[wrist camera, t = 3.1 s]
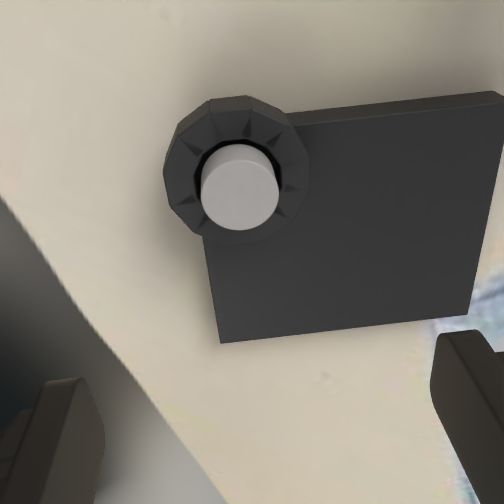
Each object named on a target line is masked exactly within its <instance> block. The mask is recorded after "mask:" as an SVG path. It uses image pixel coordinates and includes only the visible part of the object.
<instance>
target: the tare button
mask: <svg viewBox="0 0 504 504" xmlns="http://www.w3.org/2000/svg"><path fill="white" fill-rule="evenodd" d="M278 199H279V189H278V185H277V181H276V178H275V174H274V170H273V167H272V165H271V162H270V161H269V159H268V158H267V157H266V155H265V154H263V153H262V152H261V151H260V150H258V149H256V148H254V147H252V146H249V145H244V144H233V145H228V146H225V147H222V148H220V149H219V150H217V151H215V152H214V153H213V154H212V155H211V156H210V157H209V158H208V160H207V161H206V163H205V165H204V167H203V170H202V175H201V202H202V206H203V208H204V210H205V212H206V214H207V215H208V216H209V218H210V219H211V220H212V221H214V222H215V223H216V224H218V225H220V226H222V227H224V228H227V229H231V230H247V229H251V228H254V227H256V226H259V225H260V224H262V223H263V222H265V221H266V220H267V219H268V218H269V217H270V216H271V215H272V213H273V212H274V210H275V208H276V206H277V203H278Z"/></svg>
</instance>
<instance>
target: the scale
mask: <svg viewBox="0 0 504 504" xmlns="http://www.w3.org/2000/svg"><path fill="white" fill-rule="evenodd" d="M233 144H244V145H249V146H252V147H254V148H256V149H258V150H260V151H261V152H262V153H263V154H265V155H266V157H267V158H268V159H269V161H270V162H271V165H272V167H273V170H274V174H275V178H276V181H277V185H278V189H279V199H278V203H277V206H276V208H275V210H274V212H273V213H272V215H271V216H270V217H269V218H268V219H267V220H266V221H265V222H263V223H262V224H260V225H259V226H256V227H254V228H251V229H247V230H231V229H227V228H224V227H222V226H220V225H218V224H216V223H215V222H214V221H212V220H211V219H210V218H209V216H208V215H207V214H206V212H205V210H204V208H203V206H202V202H201V175H202V170H203V167H204V165H205V163H206V161H207V160H208V158H209V157H210V156H211V155H212V154H213V153H214V152H215V151H217V150H219V149H220V148H222V147H225V146H228V145H233ZM503 144H504V96H502V95H500V94H498V93H497V92H495V91H485V92H476V93H467V94H458V95H449V96H440V97H431V98H422V99H413V100H404V101H395V102H386V103H377V104H368V105H359V106H350V107H341V108H331V109H322V110H313V111H304V112H295V113H286V114H285V113H284V112H282V111H281V110H280V109H277V108H275V107H273V106H271V105H269V104H266V103H264V102H262V101H260V100H258V99H255V98H253V97H251V96H247V95H244V96H235V97H226V98H217V99H210V101H206V102H205V103H204V104H202V105H201V106H200V107H198V108H197V109H196V110H195V111H193V112H192V113H191V114H189V115H188V116H187V117H185V118H184V119H183V120H181V121H180V123H178V125H177V128H176V130H175V133H174V135H173V138H172V141H171V143H170V146H169V148H168V151H167V153H166V157H165V162H164V167H163V177H164V182H165V187H166V191H167V196H168V201H169V205H170V207H171V209H172V210H173V211H174V212H175V213H176V214H177V215H178V216H179V217H180V218H181V219H182V221H183V222H184V223H185V224H186V225H187V226H188V227H189V228H190V229H191V230H192V231H193V232H194V233H195V234H198V235H201V236H202V238H203V244H204V250H205V256H206V262H207V268H208V274H209V280H210V285H211V291H212V297H213V303H214V309H215V315H216V321H217V327H218V333H219V338H220V343H221V344H222V343H231V342H239V341H248V340H256V339H265V338H273V337H282V336H290V335H299V334H307V333H316V332H324V331H333V330H341V329H350V328H358V327H367V326H375V325H384V324H392V323H401V322H409V321H418V320H426V319H435V318H443V317H452V316H460V315H467V314H468V310H469V305H470V300H471V295H472V291H473V286H474V281H475V276H476V272H477V267H478V262H479V257H480V253H481V248H482V243H483V239H484V234H485V229H486V224H487V220H488V215H489V210H490V205H491V201H492V196H493V191H494V187H495V182H496V177H497V172H498V168H499V163H500V158H501V153H502V149H503Z"/></svg>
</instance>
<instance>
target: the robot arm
mask: <svg viewBox="0 0 504 504" xmlns="http://www.w3.org/2000/svg"><path fill="white" fill-rule="evenodd" d="M430 392H431V398H432V402H433V405H434V408H435V410H436V412H437V414H438V417H439V419H440V421H441V423H442V425H443V427H444V429H445V431H446V433H447V435H448V437H449V439H450V441H451V443H452V446H453V448H454V450H455V452H456V454H457V456H458V458H459V460H460V462H461V464H462V466H463V468H464V470H465V472H466V475H467V477H468V479H469V481H470V483H471V485H472V487H473V489H474V491H475V493H476V495H477V497H478V499H479V501H480V504H504V352H494V350H493V349H492V347H491V346H490V345H489V343H488V342H487V340H486V339H485V337H484V336H483V335H482V333H481V332H479V331H478V330H475V329H474V330H466V331H457V332H449V333H441V334H439V336H438V338H437V342H436V348H435V354H434V360H433V366H432V372H431V378H430ZM104 448H105V430H104V424H103V421H102V419H101V416H100V414H99V411H98V409H97V406H96V404H95V402H94V399H93V397H92V394H91V392H90V389H89V387H88V384H87V382H86V380H85V379H84V378H82V377H81V378H71V379H63V380H55V381H47V382H45V383H44V384H43V385H42V387H41V389H40V391H39V394H38V397H37V399H36V402H35V404H34V407H33V409H29V410H21V411H19V412H18V414H17V415H16V416H15V417H14V418H13V419H12V421H11V422H10V423H9V424H8V425H7V427H6V428H5V429H4V430H3V431H2V433H1V434H0V504H93V502H94V498H95V493H96V488H97V483H98V478H99V473H100V469H101V464H102V459H103V455H104Z"/></svg>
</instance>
